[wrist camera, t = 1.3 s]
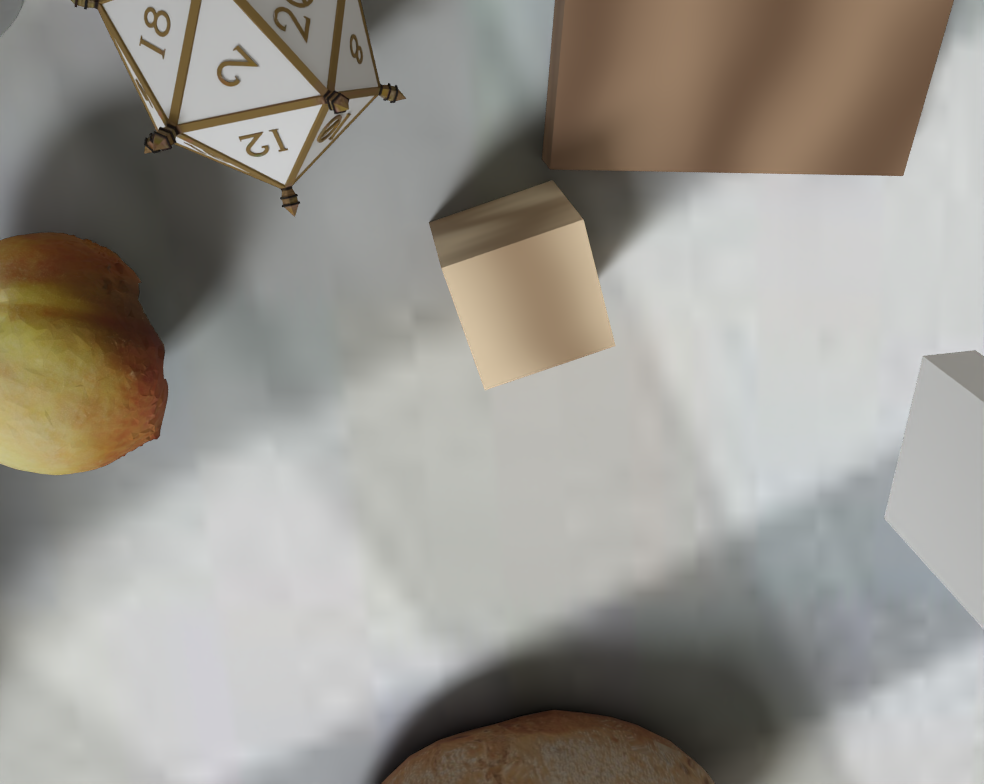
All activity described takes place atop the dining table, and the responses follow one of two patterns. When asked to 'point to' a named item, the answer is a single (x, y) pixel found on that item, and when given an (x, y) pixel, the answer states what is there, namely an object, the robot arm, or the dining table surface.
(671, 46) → the board
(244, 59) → the game die
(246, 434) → the dining table surface
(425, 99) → the dining table surface
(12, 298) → the fruit
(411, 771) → the bread
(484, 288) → the beech block
